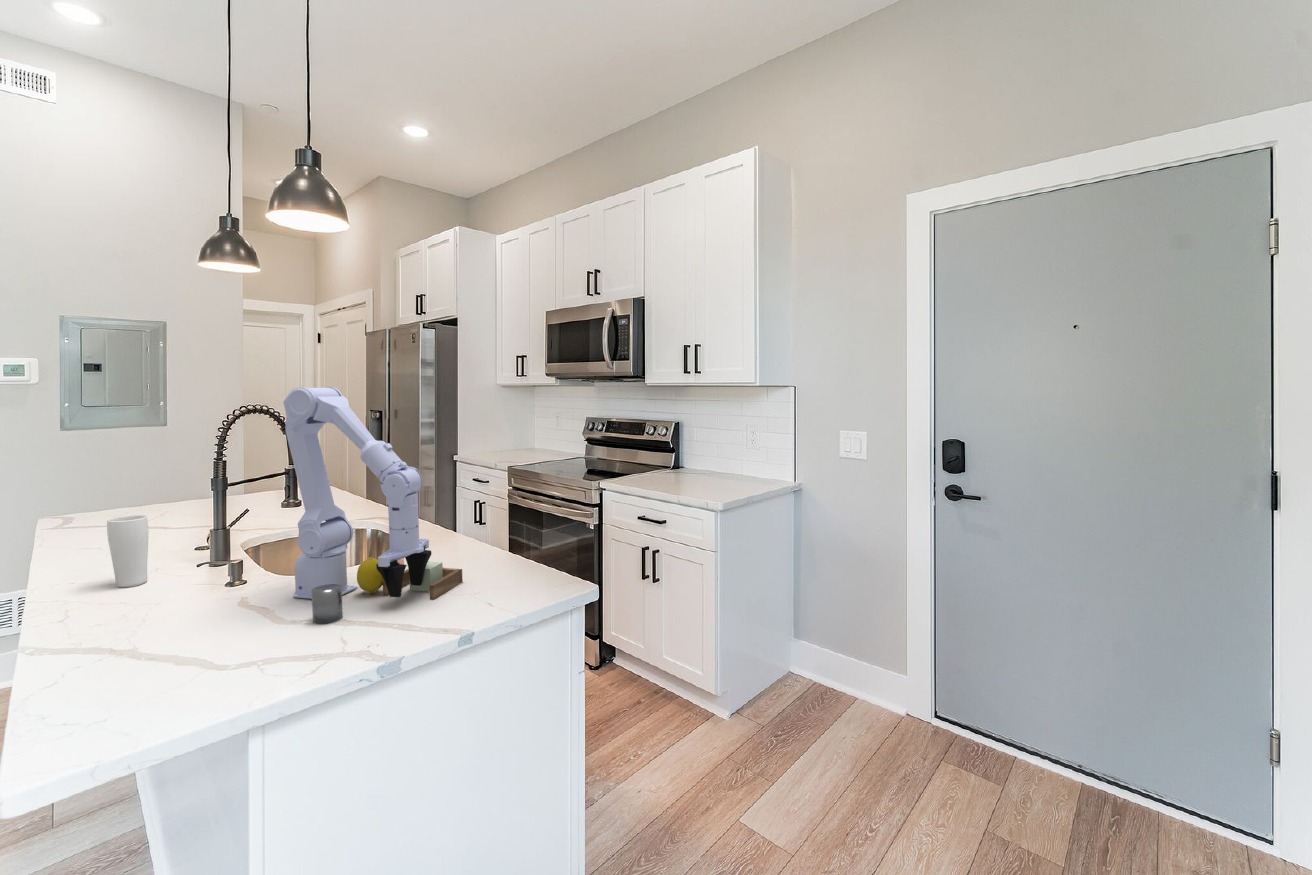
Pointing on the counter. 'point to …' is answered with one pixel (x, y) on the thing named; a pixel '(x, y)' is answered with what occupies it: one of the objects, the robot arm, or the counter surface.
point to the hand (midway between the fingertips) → (406, 590)
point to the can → (327, 604)
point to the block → (429, 576)
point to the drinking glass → (129, 549)
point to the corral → (437, 588)
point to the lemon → (369, 576)
